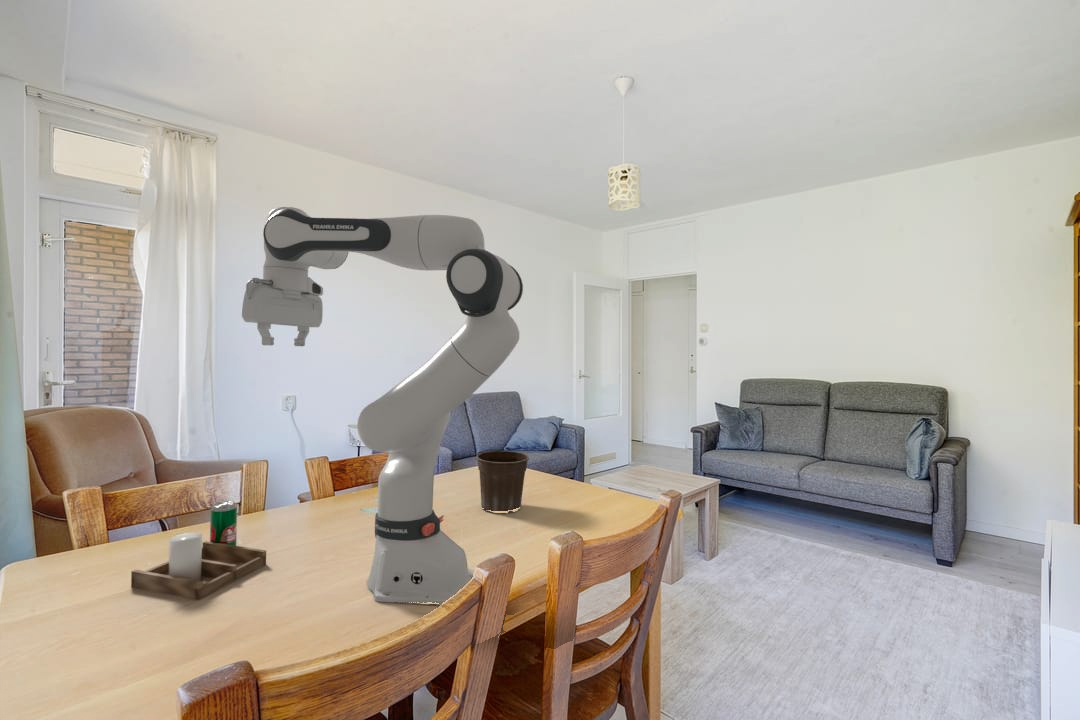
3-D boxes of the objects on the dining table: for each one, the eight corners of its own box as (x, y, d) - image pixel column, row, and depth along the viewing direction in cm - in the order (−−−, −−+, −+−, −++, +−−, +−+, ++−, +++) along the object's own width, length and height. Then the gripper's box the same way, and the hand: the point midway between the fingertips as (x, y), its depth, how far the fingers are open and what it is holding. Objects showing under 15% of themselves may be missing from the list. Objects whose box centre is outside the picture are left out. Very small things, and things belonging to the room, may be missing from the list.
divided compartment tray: (265, 569, 106) (266, 550, 106) (198, 606, 90) (198, 583, 90) (205, 560, 110) (205, 541, 110) (131, 593, 94) (131, 571, 94)
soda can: (223, 562, 109) (224, 508, 108) (203, 559, 110) (205, 506, 109) (241, 553, 114) (242, 501, 113) (222, 551, 115) (223, 499, 114)
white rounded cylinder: (207, 579, 98) (208, 534, 98) (183, 591, 93) (184, 544, 93) (186, 575, 99) (187, 531, 99) (161, 587, 94) (162, 540, 94)
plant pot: (526, 517, 144) (528, 462, 144) (471, 515, 144) (472, 460, 144) (528, 501, 160) (529, 451, 160) (478, 499, 161) (480, 449, 160)
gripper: (260, 275, 98) (258, 345, 99) (328, 289, 118) (326, 347, 119) (234, 276, 100) (233, 344, 100) (305, 289, 120) (304, 346, 120)
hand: (284, 345), depth 110 cm, fingers open, 8 cm apart
